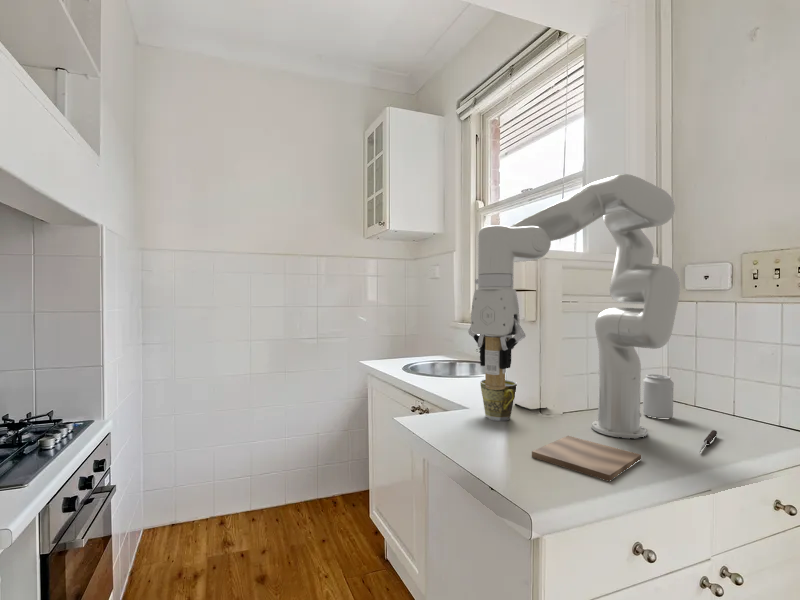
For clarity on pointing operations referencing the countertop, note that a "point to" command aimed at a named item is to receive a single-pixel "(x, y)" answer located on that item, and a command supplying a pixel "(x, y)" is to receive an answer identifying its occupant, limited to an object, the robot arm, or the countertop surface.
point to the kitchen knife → (709, 438)
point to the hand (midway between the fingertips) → (495, 365)
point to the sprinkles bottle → (493, 364)
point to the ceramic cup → (498, 401)
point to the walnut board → (587, 457)
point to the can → (658, 396)
